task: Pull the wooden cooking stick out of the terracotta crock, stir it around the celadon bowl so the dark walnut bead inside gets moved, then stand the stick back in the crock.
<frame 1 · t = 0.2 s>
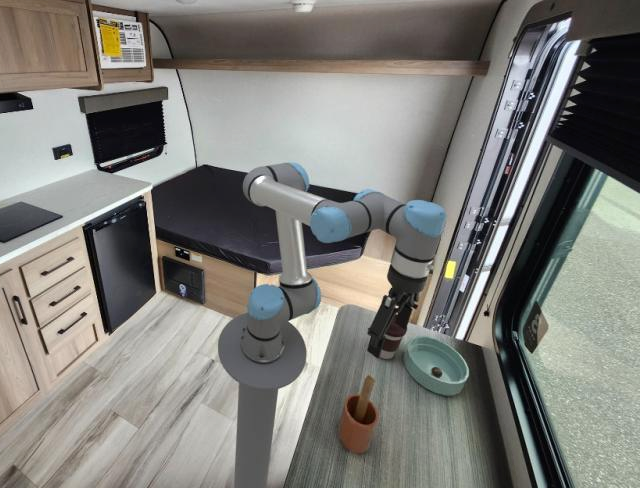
hand: (387, 339, 76), 31 cm above the table, tool pointing down, fingers open, 13 cm apart
cooking stick: (354, 434, 84), point 1 cm above the table, touching crock
bead: (436, 372, 100), point 2 cm above the table, touching bowl
bowl: (431, 370, 103), on the table
crock: (353, 435, 84), on the table
coffee cup: (382, 351, 109), on the table
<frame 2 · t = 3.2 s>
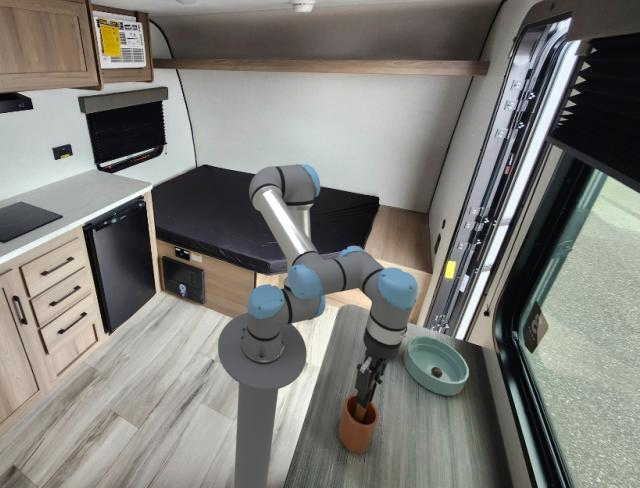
hand: (363, 400, 78), 15 cm above the table, tool pointing down, fingers closed on cooking stick, 2 cm apart
cooking stick: (353, 433, 84), point 1 cm above the table, touching gripper
everything else where it was.
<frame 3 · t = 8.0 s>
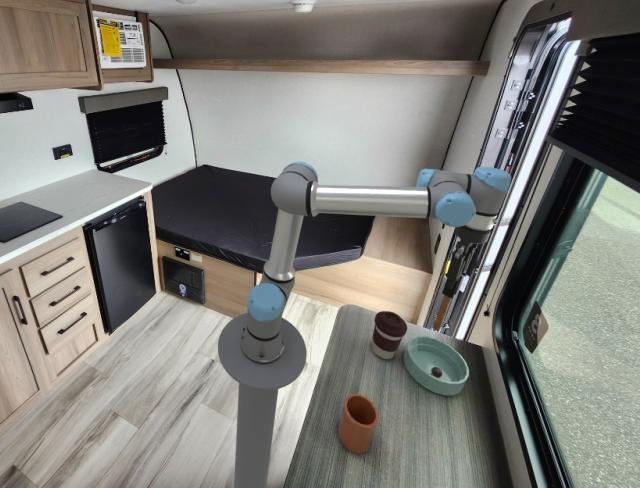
hand: (448, 293, 92), 31 cm above the table, tool pointing down, fingers closed on cooking stick, 2 cm apart
cooking stick: (436, 328, 97), point 17 cm above the table, touching gripper
everything else where it was.
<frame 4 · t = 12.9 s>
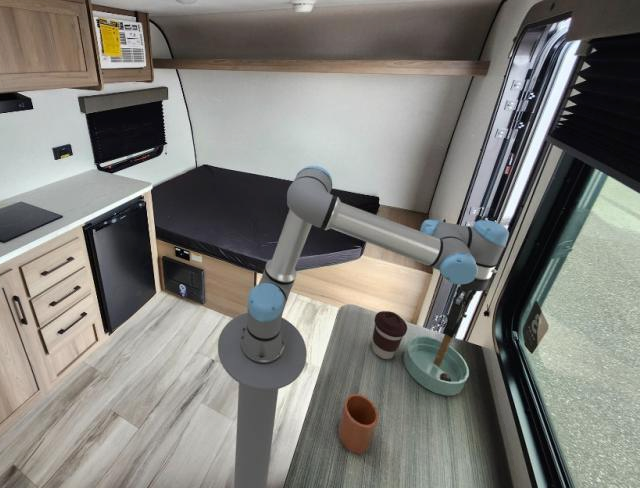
hand: (449, 332, 97), 16 cm above the table, tool pointing down, fingers closed on cooking stick, 2 cm apart
cooking stick: (437, 363, 103), point 2 cm above the table, touching gripper
bead: (445, 378, 98), point 2 cm above the table, tilted 99°, touching bowl
everything else where it was.
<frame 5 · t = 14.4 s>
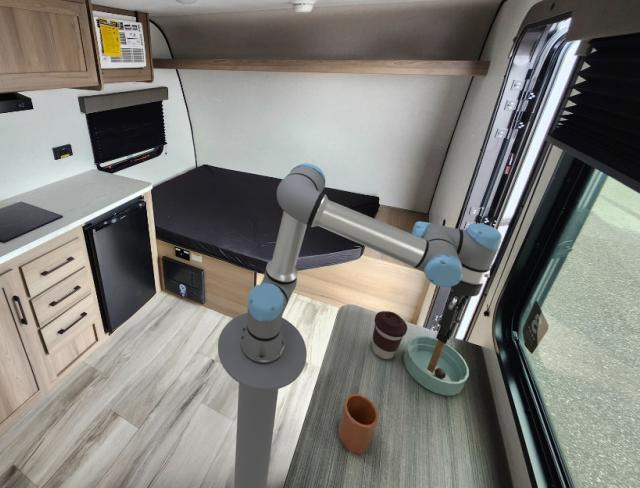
hand: (442, 338, 95), 16 cm above the table, tool pointing down, fingers closed on cooking stick, 2 cm apart
cooking stick: (430, 369, 101), point 2 cm above the table, touching gripper
bead: (440, 373, 100), point 2 cm above the table, tilted 27°, touching bowl
everything else where it was.
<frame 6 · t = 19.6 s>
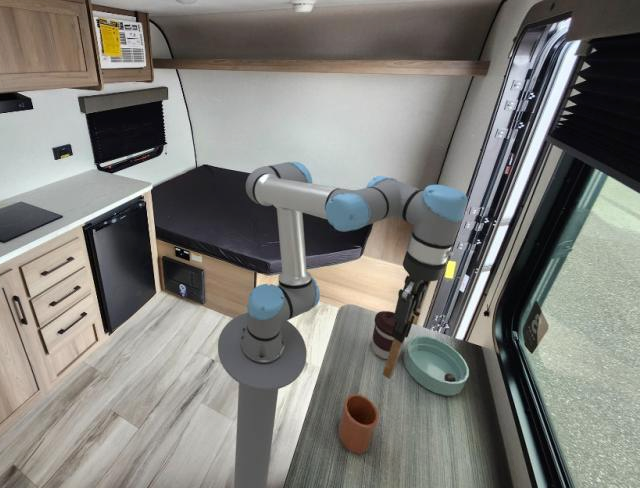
hand: (399, 336, 76), 32 cm above the table, tool pointing down, fingers closed on cooking stick, 2 cm apart
cooking stick: (387, 374, 81), point 18 cm above the table, touching gripper
bead: (450, 378, 98), point 2 cm above the table, tilted 132°, touching bowl
everything else where it was.
when the fingers open (15 cm above the table, at t = 24.6 s): cooking stick stays where it is, resting on crock.
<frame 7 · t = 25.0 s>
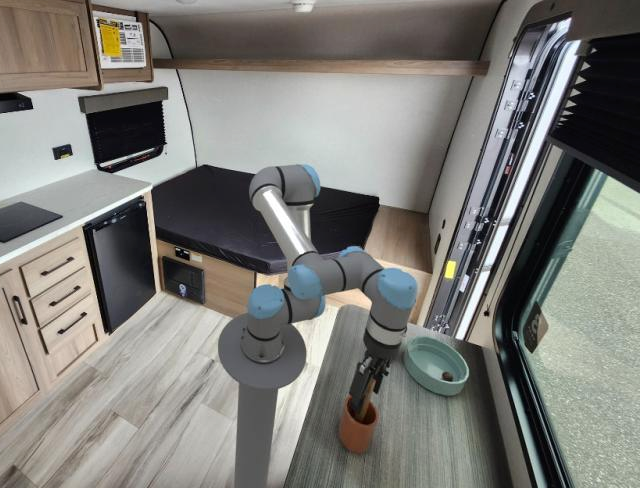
hand: (364, 399, 78), 15 cm above the table, tool pointing down, fingers open, 7 cm apart
cooking stick: (354, 434, 84), point 1 cm above the table, touching crock
bead: (447, 377, 98), point 2 cm above the table, tilted 102°, touching bowl
everything else where it was.
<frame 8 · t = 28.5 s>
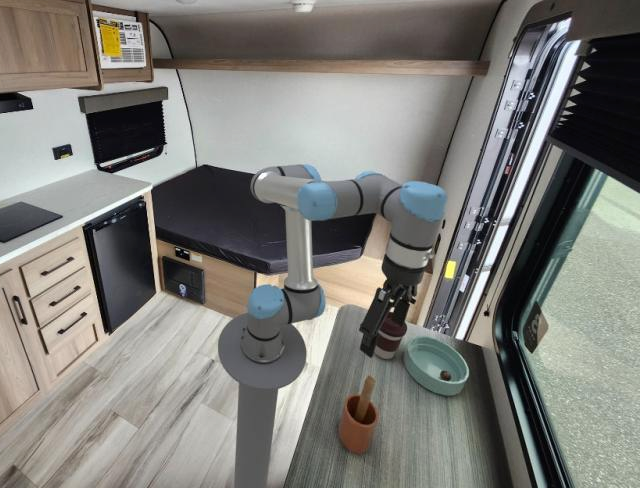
hand: (382, 337, 70), 37 cm above the table, tool pointing down, fingers open, 13 cm apart
bead: (445, 375, 99), point 2 cm above the table, tilted 84°, touching bowl
everything else where it was.
at the end: bead moved 2.5 cm from its start; bead inside the target area in the bowl (3.8 cm from its centre), point 2.1 cm above the bowl's base; cooking stick 0.2 cm off-centre in the crock, point 0.6 cm above the crock's base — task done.
